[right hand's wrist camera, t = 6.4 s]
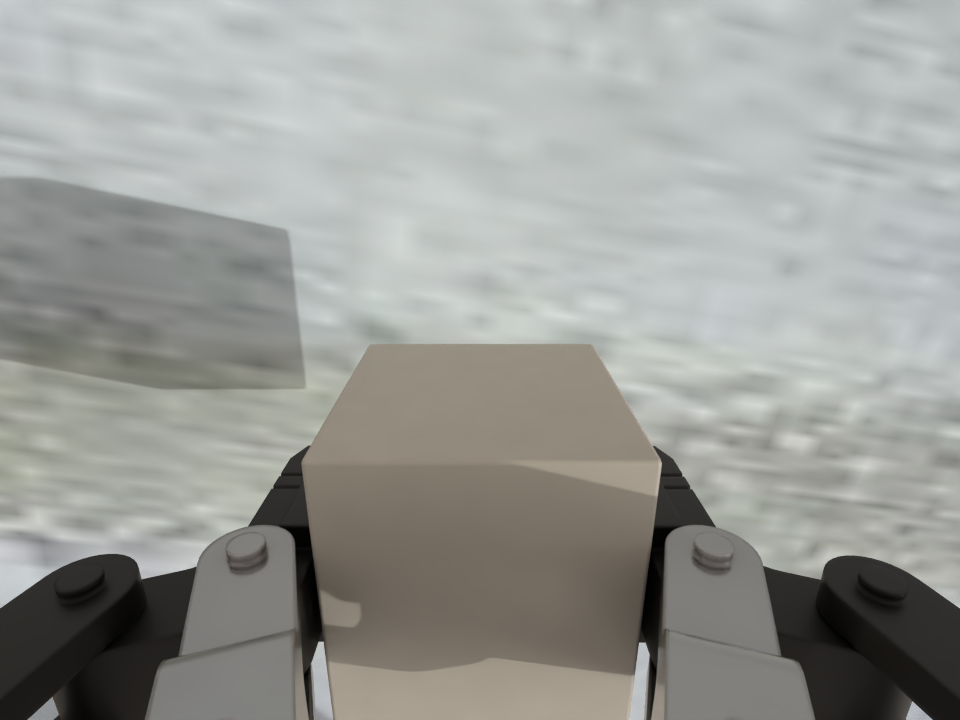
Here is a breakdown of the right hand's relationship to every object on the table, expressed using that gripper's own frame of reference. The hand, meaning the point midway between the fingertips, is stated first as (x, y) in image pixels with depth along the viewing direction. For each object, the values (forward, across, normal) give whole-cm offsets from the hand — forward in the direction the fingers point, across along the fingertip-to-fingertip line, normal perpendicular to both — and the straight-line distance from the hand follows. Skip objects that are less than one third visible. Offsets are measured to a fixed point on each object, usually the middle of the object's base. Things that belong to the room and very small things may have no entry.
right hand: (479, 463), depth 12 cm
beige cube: (+1, 0, 0) cm, 1 cm away
